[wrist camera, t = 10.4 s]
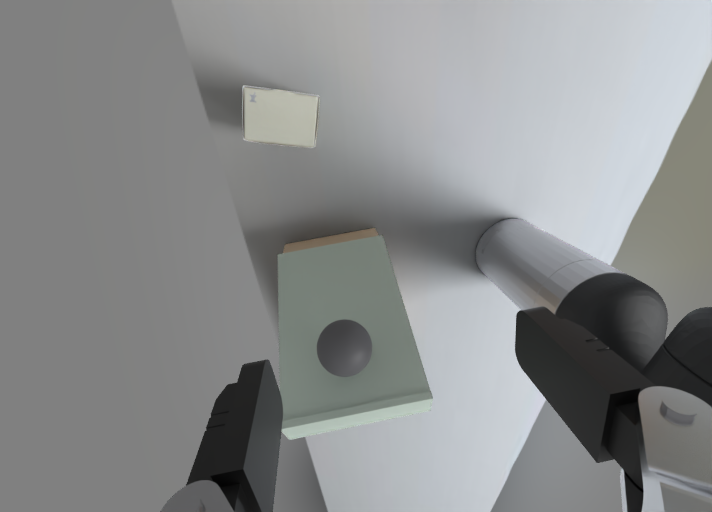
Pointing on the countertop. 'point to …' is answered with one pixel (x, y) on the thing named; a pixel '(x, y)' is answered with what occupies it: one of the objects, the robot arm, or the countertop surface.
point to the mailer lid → (345, 340)
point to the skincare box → (279, 117)
